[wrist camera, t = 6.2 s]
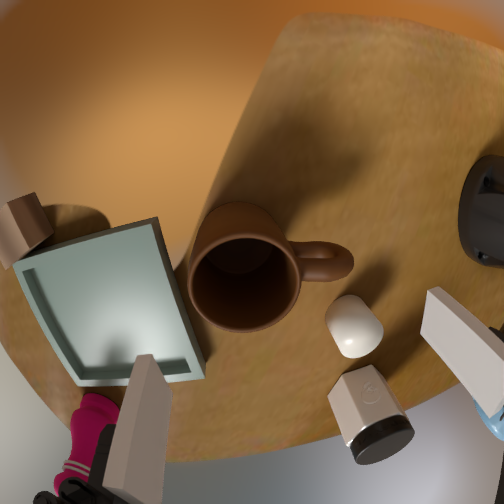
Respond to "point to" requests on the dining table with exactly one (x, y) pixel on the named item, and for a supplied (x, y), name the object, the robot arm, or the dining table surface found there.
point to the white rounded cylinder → (353, 326)
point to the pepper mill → (86, 435)
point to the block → (22, 228)
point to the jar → (369, 415)
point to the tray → (112, 305)
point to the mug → (254, 268)
